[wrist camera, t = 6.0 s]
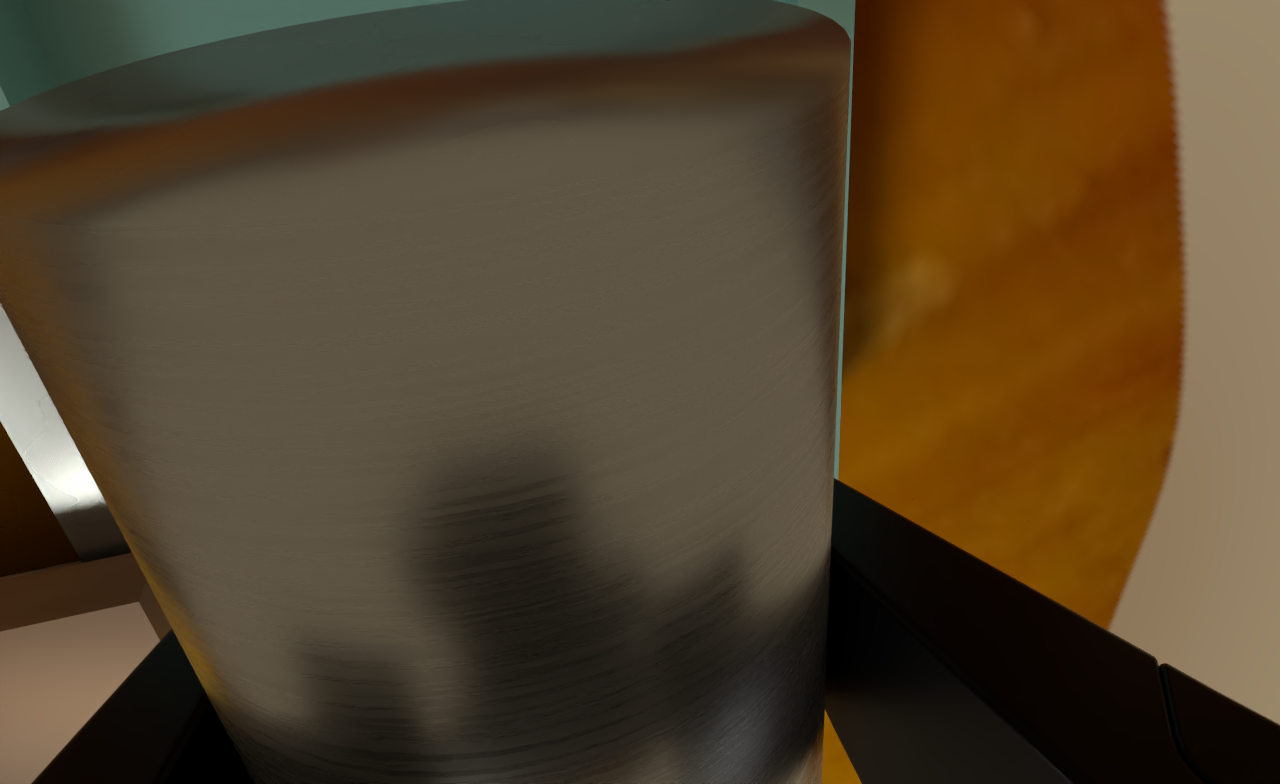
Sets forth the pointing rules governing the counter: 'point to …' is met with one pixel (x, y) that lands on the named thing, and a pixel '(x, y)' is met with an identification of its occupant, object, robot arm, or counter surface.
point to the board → (67, 652)
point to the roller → (463, 377)
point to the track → (53, 454)
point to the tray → (211, 11)
